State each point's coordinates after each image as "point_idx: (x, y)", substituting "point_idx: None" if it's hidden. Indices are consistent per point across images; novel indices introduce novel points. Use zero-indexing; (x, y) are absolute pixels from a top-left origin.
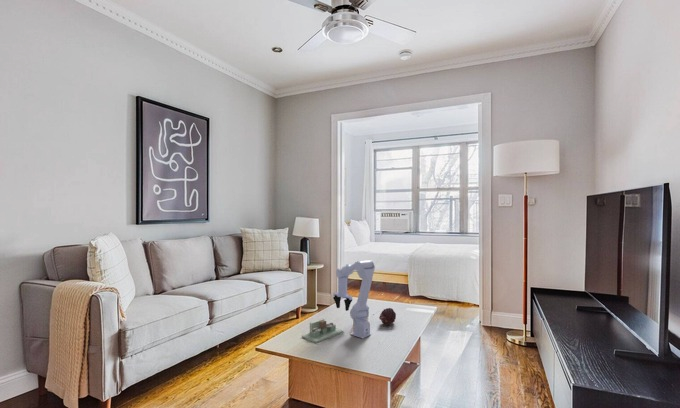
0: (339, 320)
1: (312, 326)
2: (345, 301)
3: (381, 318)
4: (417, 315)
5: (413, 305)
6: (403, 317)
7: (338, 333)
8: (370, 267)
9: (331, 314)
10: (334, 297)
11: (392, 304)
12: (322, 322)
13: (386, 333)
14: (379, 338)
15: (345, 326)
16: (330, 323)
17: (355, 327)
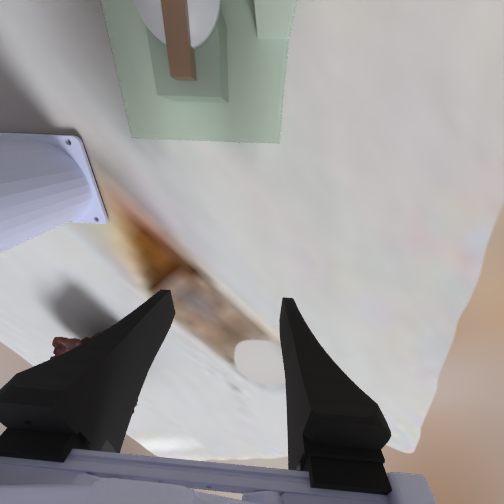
0: (303, 278)
1: None
2: (47, 376)
3: (66, 348)
4: (134, 422)
5: (203, 457)
6: (143, 402)
7: (121, 71)
8: None
9: (396, 317)
10: (351, 430)
11: (251, 449)
12: None
13: (21, 274)
14: None
15: (212, 229)
16: (179, 39)
17: None
